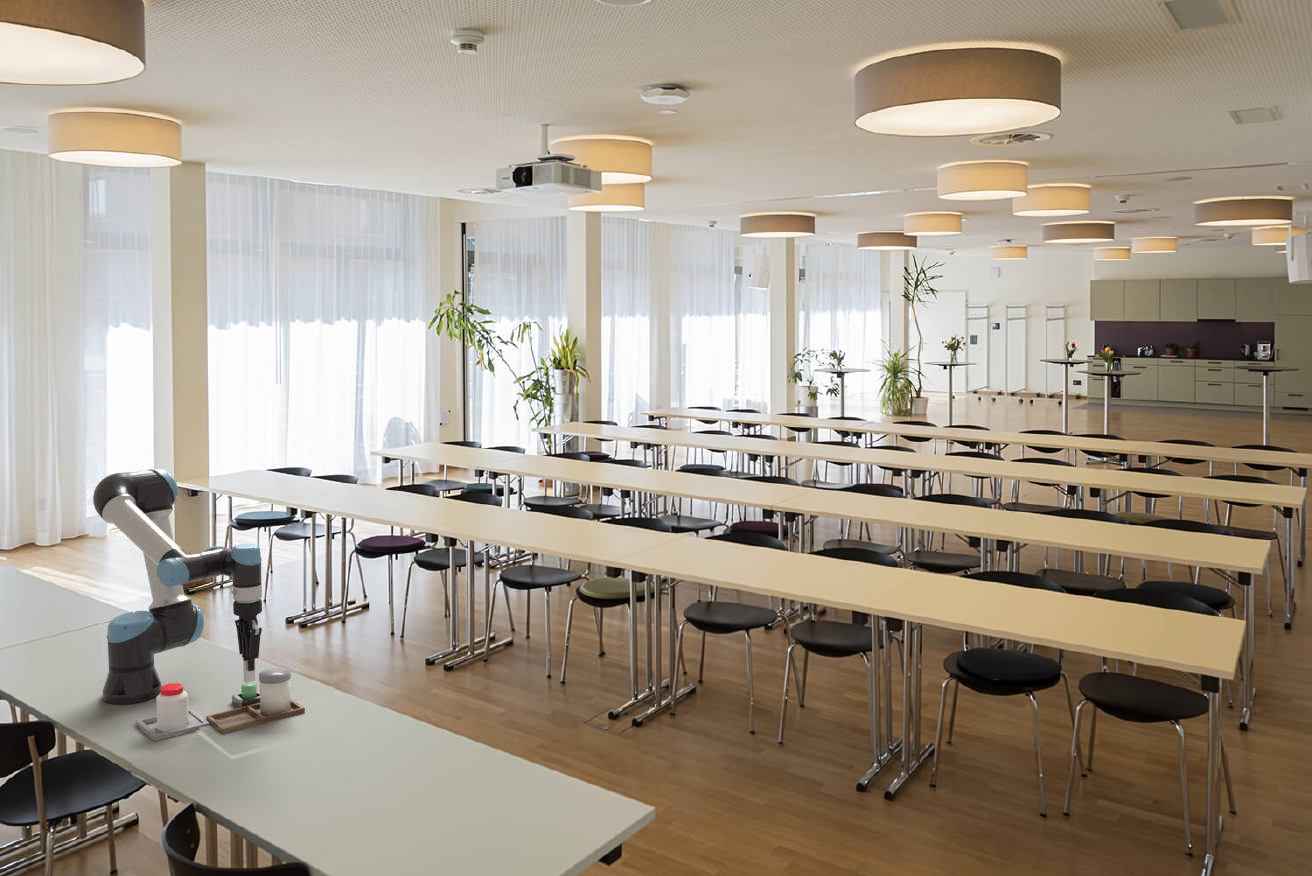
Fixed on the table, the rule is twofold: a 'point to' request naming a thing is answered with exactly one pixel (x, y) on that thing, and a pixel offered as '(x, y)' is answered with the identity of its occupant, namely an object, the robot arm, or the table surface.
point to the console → (241, 703)
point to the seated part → (275, 691)
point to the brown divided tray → (247, 717)
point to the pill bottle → (172, 708)
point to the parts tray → (155, 737)
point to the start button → (249, 690)
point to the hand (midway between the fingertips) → (249, 680)
